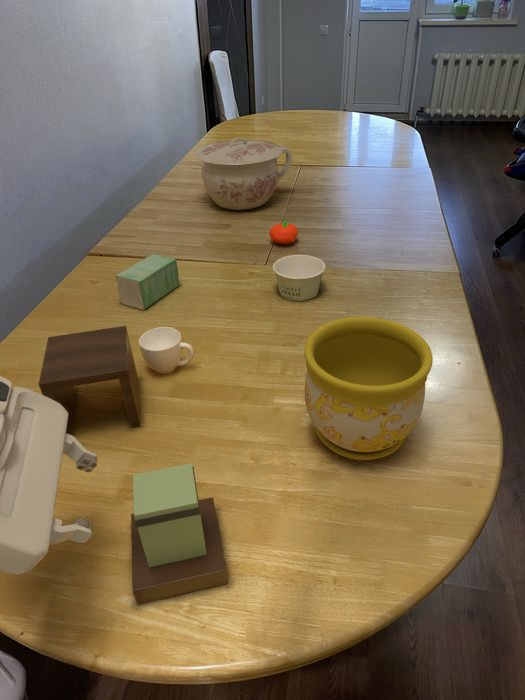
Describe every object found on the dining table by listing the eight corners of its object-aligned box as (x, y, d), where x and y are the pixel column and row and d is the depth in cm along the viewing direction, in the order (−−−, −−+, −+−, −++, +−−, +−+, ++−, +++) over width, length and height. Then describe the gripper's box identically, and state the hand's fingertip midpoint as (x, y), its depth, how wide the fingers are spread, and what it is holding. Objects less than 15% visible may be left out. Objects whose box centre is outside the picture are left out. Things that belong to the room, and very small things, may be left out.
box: (181, 285, 126) (176, 256, 122) (145, 311, 117) (139, 281, 112) (157, 279, 129) (152, 251, 125) (120, 304, 120) (113, 275, 116)
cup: (153, 353, 103) (147, 325, 99) (201, 357, 101) (197, 329, 97) (138, 378, 97) (132, 348, 93) (189, 382, 95) (185, 353, 91)
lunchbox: (207, 555, 63) (198, 503, 57) (148, 568, 62) (132, 516, 56) (201, 514, 68) (192, 461, 62) (146, 525, 67) (131, 473, 61)
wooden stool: (140, 426, 86) (126, 369, 79) (59, 441, 84) (38, 384, 77) (138, 379, 97) (126, 325, 90) (66, 391, 94) (48, 337, 87)
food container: (267, 300, 119) (266, 274, 115) (281, 276, 128) (280, 252, 124) (318, 306, 115) (319, 280, 112) (329, 281, 125) (330, 256, 121)
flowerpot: (438, 430, 83) (457, 347, 73) (371, 495, 73) (383, 409, 63) (349, 381, 94) (355, 303, 84) (280, 433, 84) (278, 351, 74)
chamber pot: (186, 214, 164) (178, 147, 152) (219, 187, 185) (214, 125, 173) (270, 222, 157) (268, 151, 145) (294, 192, 178) (294, 128, 166)
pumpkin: (269, 237, 147) (269, 216, 144) (297, 237, 147) (297, 215, 143) (269, 248, 142) (268, 226, 138) (298, 248, 141) (298, 225, 137)
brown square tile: (228, 583, 63) (226, 569, 61) (137, 605, 61) (132, 591, 60) (215, 510, 72) (213, 496, 70) (134, 527, 70) (130, 513, 68)
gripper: (-53, 521, 40) (104, 566, 47) (1, 364, 56) (111, 416, 63) (-90, 566, 42) (66, 603, 49) (-28, 402, 58) (82, 448, 65)
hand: (92, 496), depth 56 cm, fingers open, 8 cm apart
